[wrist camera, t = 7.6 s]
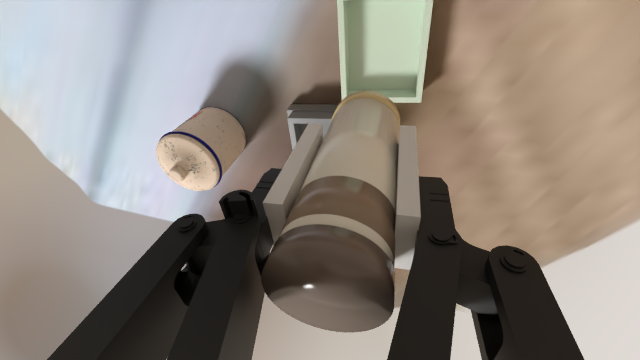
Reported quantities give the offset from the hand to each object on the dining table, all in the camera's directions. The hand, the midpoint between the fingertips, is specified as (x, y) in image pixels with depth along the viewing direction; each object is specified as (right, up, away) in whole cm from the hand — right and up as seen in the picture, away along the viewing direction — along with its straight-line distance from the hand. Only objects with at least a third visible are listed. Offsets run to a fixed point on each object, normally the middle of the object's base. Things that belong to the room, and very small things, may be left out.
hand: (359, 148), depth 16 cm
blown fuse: (+1, +2, +2) cm, 3 cm away
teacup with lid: (-18, +5, +31) cm, 36 cm away
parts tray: (+5, +13, +18) cm, 23 cm away
